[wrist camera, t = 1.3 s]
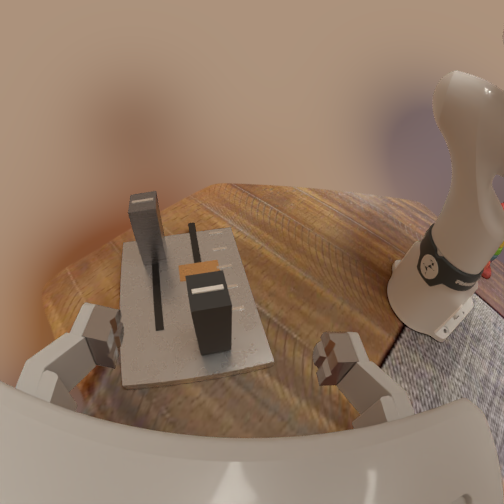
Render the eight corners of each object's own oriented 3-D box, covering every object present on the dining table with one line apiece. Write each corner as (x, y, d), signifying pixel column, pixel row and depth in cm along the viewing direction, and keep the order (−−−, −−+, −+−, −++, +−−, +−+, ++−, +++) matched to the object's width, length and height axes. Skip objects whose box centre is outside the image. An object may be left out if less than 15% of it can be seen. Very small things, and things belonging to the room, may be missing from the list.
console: (228, 226, 54) (229, 166, 44) (272, 366, 35) (290, 319, 25) (126, 241, 49) (109, 183, 39) (127, 389, 31) (84, 351, 21)
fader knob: (224, 321, 37) (223, 268, 29) (231, 349, 34) (232, 303, 26) (195, 326, 36) (185, 274, 28) (200, 355, 33) (190, 310, 25)
